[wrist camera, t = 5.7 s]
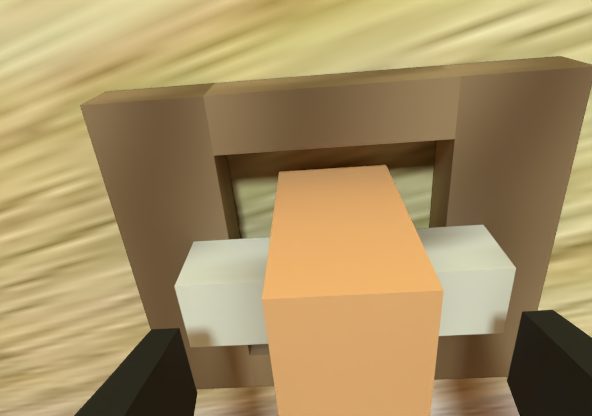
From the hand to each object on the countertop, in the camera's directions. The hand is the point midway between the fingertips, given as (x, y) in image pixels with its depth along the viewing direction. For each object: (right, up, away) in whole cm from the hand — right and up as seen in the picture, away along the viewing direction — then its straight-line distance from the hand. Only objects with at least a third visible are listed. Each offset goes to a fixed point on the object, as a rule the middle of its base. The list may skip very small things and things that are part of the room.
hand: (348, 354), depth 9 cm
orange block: (0, +2, +4) cm, 4 cm away
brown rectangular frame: (0, +2, +4) cm, 5 cm away
